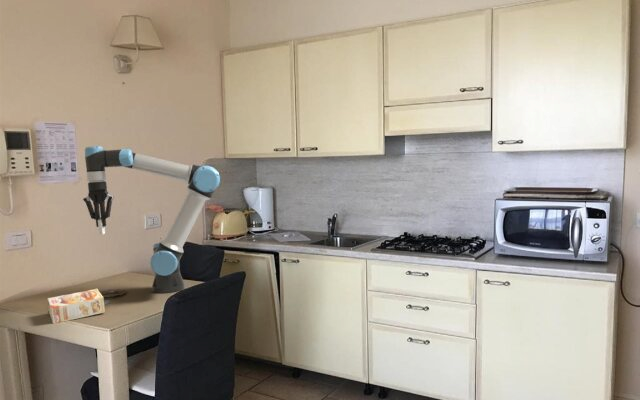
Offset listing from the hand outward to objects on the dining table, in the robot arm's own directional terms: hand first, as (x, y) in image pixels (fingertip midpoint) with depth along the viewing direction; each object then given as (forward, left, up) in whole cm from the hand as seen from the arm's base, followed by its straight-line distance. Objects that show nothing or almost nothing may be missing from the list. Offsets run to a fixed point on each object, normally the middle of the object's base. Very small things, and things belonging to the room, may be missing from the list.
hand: (102, 234), depth 231 cm
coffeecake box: (-4, +13, -26) cm, 30 cm away
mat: (+8, +8, -31) cm, 33 cm away
